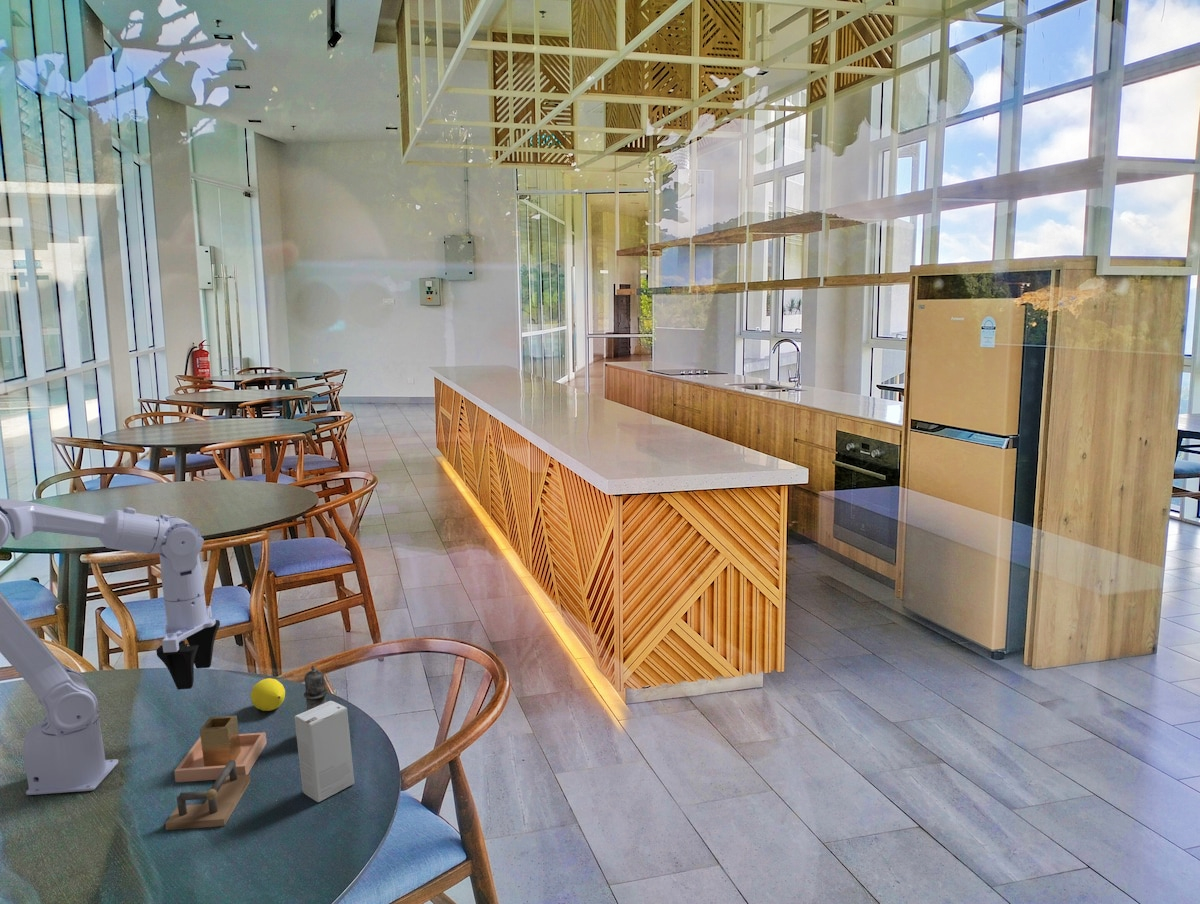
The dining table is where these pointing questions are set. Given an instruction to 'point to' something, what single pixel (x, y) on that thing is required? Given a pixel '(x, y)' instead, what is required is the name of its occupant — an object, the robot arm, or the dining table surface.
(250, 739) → the dish
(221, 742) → the hollow wooden box
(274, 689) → the lemon
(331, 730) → the skincare box
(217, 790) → the bent wire
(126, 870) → the dining table surface
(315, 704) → the dark grey chess piece
